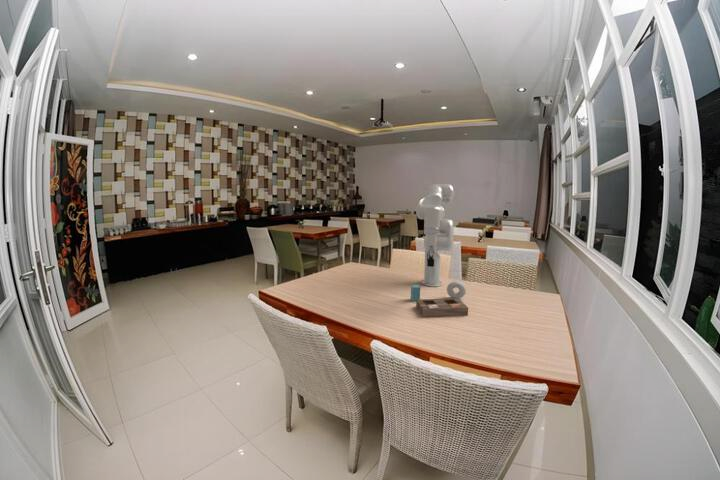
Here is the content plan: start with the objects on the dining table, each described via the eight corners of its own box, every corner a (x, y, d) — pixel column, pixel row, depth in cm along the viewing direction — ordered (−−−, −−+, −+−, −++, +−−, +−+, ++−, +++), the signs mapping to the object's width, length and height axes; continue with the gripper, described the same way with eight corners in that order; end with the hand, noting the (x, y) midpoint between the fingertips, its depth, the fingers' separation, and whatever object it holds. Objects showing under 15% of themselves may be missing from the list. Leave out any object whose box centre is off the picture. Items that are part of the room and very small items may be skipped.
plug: (410, 298, 158) (411, 285, 157) (417, 298, 159) (418, 284, 157) (412, 301, 154) (412, 287, 153) (419, 301, 155) (420, 287, 153)
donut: (446, 298, 158) (447, 281, 157) (446, 296, 162) (447, 279, 160) (465, 301, 155) (466, 283, 153) (465, 298, 158) (466, 281, 156)
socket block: (416, 306, 147) (416, 299, 147) (457, 305, 149) (457, 297, 148) (423, 317, 136) (423, 308, 135) (467, 315, 137) (468, 306, 137)
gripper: (424, 228, 153) (422, 259, 156) (424, 233, 136) (422, 268, 139) (438, 228, 151) (437, 260, 154) (440, 233, 135) (438, 268, 138)
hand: (430, 263), depth 147 cm, fingers open, 9 cm apart
